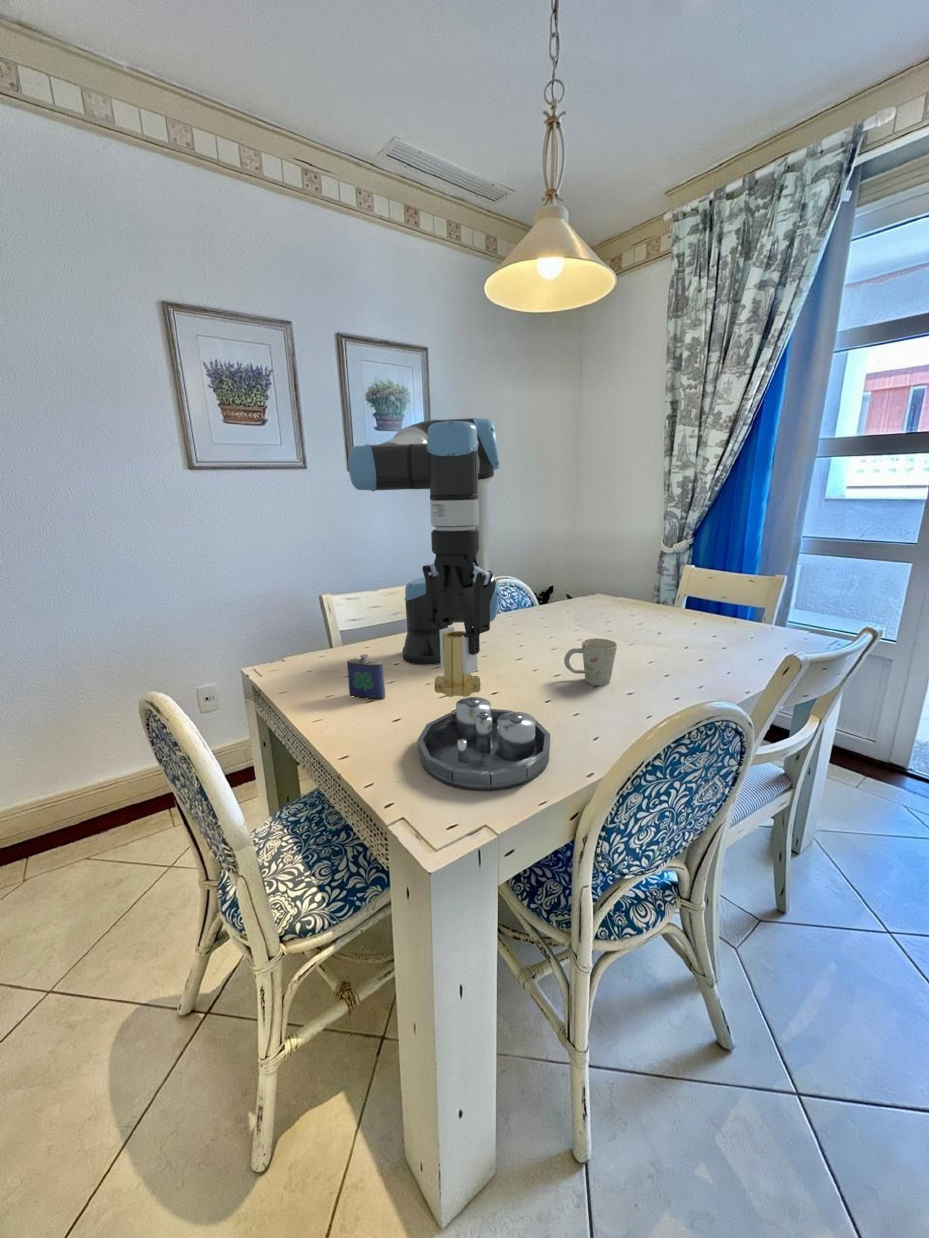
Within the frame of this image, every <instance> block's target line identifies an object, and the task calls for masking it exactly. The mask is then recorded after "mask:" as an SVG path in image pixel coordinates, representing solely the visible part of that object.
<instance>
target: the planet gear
mask: <svg viewBox="0 0 929 1238" xmlns="http://www.w3.org/2000/svg"><path fill="white" fill-rule="evenodd" d="M464 633H466V631H465V630H454V631H450V632H446V633H444V667H443V669H444V673H443V675H441V676H440V675H437V676H435V677H434V691H435V693H437V694H440V693H441V694H443V695H444V696H445V697H449V698H453V697H463V698H468V697H471V695H472V694H474V693H477V694H478V693H480V691H481V677H480V676H478V675H472V672H471V673H469V674H463V656H462V635H463V634H464Z"/></svg>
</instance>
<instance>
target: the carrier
mask: <svg viewBox="0 0 929 1238" xmlns="http://www.w3.org/2000/svg"><path fill="white" fill-rule="evenodd" d="M491 705H492V704H491V702H490V701H489V700H488V699H487V698H483V697H478V696H467V697H463V698H461V699H459V700H458V701H456V703H455V711H452V712H448V713H446V714H444V715H443V716H440V717H439V718H436V719H434V720H433V721H431V722H428V723H427V724H426V725H425V727H424V728H423V730H422V731H421V733H420V735H419V736H418V738H417V740H416V742H417V743H416V744H417V745H416V746H417V752H418V754H419V757H420V759H419V761H420V763H421V766H422V767H423V769H424V771H426V773H427V775H429V776H430V777H432V778H433V779H435V780H437V781H438V782H440V783H442V784H444V785H447V786H449V787H453V788H456V789H461V790H466V791H476V792H477V791H478V792H494V791H495V792H496V791H503V790H508V789H512V788H517V787H520V786H522V785H526V784H527V783H530V782H531V781H533V780H534V779H536V778H537V777H539V776H540V775H541V774H542V773H543V772H544V771H545V770H546V768H547V766H548V764H549V761H550V751H551V748H550V747H551V733H550V732H548V730H547V729H546V728H544V726H543V725H542V724H541V723H539V721H538V720H537V719H536V718H535V717H534V716H533V715H532V714H530V713H527V712H522V711H513V710H509V709H499V708H492V706H491Z"/></svg>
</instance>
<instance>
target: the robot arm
mask: <svg viewBox="0 0 929 1238" xmlns="http://www.w3.org/2000/svg"><path fill="white" fill-rule="evenodd" d="M495 428H496V427H495V424H494V422H493V421H492V420H491V419H489V418H477V417H469V418H450V419H429V420H423V421H421V422H417V423H414V424H411V425H409V426H406V427H403V428H401V429H399V430H398V431H397V432H396V433H395V434H394V436H393V438H391V439H389V440H386V441H385V442H382V443H380V444H369V443H368V444H367V443H366V444H365V445H364V444H363V445H355V446H353V447H351V449H350V450H349V453H348V459H347V463H348V473H349V474H348V475H349V479H350V482H351V484H352V486H353V487H354V488H355V489H356V490H358V491H371V492H376V491H395V490H398V491H399V490H429V505H430V506H429V507H430V509H429V510H430V511H429V512H430V526H432V527H434V529H432V530H431V532H430V534H431V536H430V538H431V539H430V540H431V551H432V553H433V554H434V555H435V558H434V561H433V563H431V564H425V565H423V566H422V568H421V570H422V573H423V575H424V576H423V577H420V578H417V579H414V580H411V581H409V582H408V583H407V584H406V585H405V588H404V590H405V591H404V592H405V593H404V596H405V597H404V601H405V613H406V614H405V615H406V637H405V641H404V646H403V647H402V651H401V652H402V655H401V656H402V660H403V661H405V662H406V663H408V664H411V665H416V666H432V665H440V667H442V668H444V633H446V632H450V631H455V627H454V626H452V625H453V623H463V624H464V631H465V632H466V633H464V634H463V635H462V656H463V674H469V673H471V674H472V673H473V672H475V671H477V670H478V654H479V652H480V650H481V649H480V645H481V644H480V642H481V641H480V636H481V634H483V633H486V632H489V631H490V629H491V622H493V621H494V620H496V618H497V615H498V614H497V613H498V609H499V601H500V591H501V589H500V588H501V583H500V581H497V580H496V579H495V578H496V576H495V574H494V573H493V571H492V570H490V553H489V551H490V549H489V548H490V547H489V546H490V545H489V540H490V539H489V537H490V535H489V534H490V533H489V529H490V527H489V483H490V482H491V481H492V480H493V478H494V477H495V470H497V469H499V468H500V467H501V465H500V458H499V449H498V442H497V434H496V429H495Z"/></svg>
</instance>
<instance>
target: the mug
mask: <svg viewBox="0 0 929 1238" xmlns="http://www.w3.org/2000/svg"><path fill="white" fill-rule="evenodd" d="M617 648H618V645H617V643H616V641H614V640H611V639H606V638H599V637H598V638H595V637H594V638H593V637H592V638H587V639H584V640H583V641H582V642H581V648H580V647H578V648H577V647H574V648H571V649H570V650H567V653H566V654H565V655H564V659H563V663H564V667H566V669H567V670H569V671H570V672H571V673H574V674H584V680H585V682H586V684H587V683H588V684H589V685H593V686H606V685H609V684H610V682H611V678H612V674H613V669H614V668H613V667H614V663H615V659H616V654H617ZM574 654H582V660H583V669H584V670H583V669H575V668H573V666H572V665H571V664H570V658H571V656H572V655H574Z"/></svg>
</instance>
